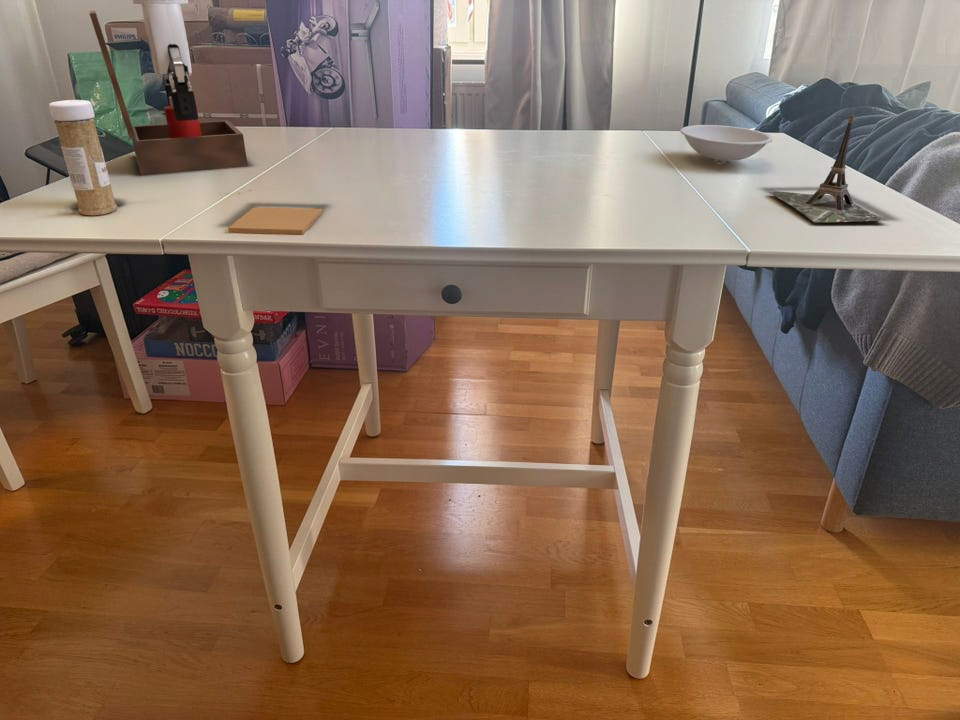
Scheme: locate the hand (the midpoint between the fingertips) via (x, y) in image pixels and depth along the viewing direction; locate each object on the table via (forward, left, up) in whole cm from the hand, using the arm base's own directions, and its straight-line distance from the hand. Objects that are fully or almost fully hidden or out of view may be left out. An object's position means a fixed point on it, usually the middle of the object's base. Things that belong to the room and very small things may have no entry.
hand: (184, 115), depth 107 cm
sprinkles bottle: (-14, -23, -8) cm, 28 cm away
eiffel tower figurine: (+74, -62, -8) cm, 97 cm away
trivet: (+6, -37, -8) cm, 38 cm away
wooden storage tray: (0, 0, -8) cm, 8 cm away
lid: (-8, 0, +6) cm, 11 cm away
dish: (+83, -34, -8) cm, 90 cm away
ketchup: (0, 0, -7) cm, 7 cm away
